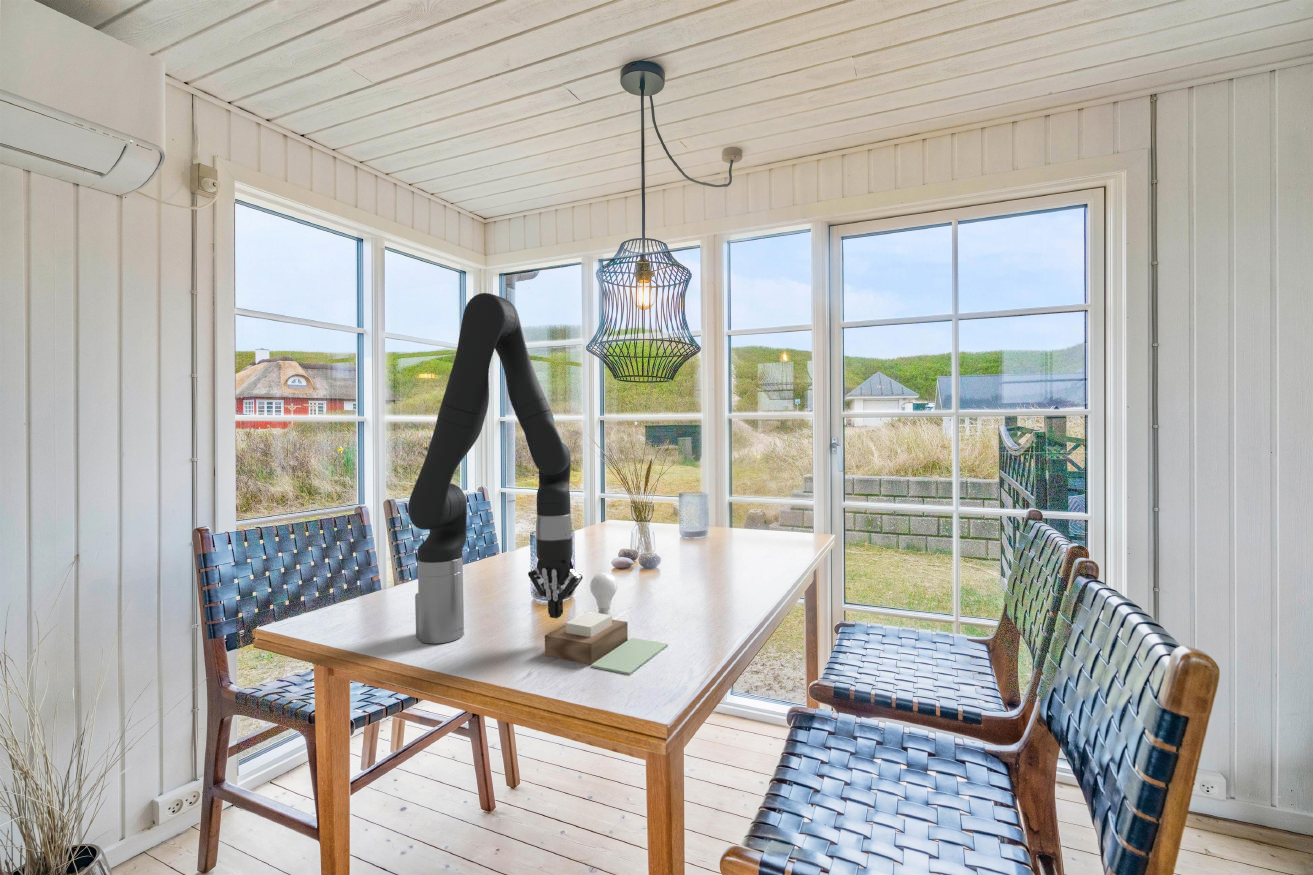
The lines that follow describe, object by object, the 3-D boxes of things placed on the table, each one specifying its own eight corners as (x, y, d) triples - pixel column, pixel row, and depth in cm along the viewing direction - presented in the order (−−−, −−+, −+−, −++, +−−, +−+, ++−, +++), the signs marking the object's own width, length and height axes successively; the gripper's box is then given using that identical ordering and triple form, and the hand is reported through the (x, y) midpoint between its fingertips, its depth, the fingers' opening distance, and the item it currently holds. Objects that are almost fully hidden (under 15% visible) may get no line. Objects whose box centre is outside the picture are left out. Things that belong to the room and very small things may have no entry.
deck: (545, 655, 120) (544, 635, 120) (584, 632, 133) (583, 614, 132) (591, 664, 115) (591, 643, 115) (627, 640, 128) (627, 621, 128)
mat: (590, 666, 114) (590, 664, 114) (632, 639, 128) (632, 637, 128) (630, 674, 110) (630, 672, 110) (668, 645, 124) (668, 643, 124)
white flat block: (565, 632, 121) (565, 622, 121) (587, 620, 128) (587, 611, 128) (591, 637, 119) (590, 627, 119) (612, 624, 126) (611, 615, 126)
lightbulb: (623, 618, 142) (622, 572, 142) (603, 625, 137) (602, 577, 137) (605, 613, 146) (604, 568, 146) (585, 619, 142) (584, 573, 142)
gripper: (517, 536, 126) (519, 618, 127) (569, 540, 120) (571, 626, 121) (540, 530, 133) (541, 608, 134) (590, 534, 127) (591, 615, 128)
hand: (555, 616), depth 127 cm, fingers closed
